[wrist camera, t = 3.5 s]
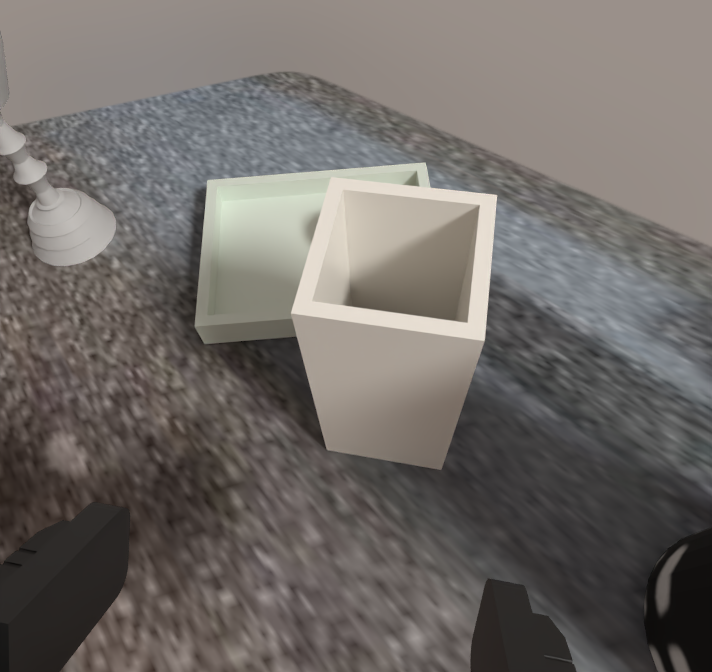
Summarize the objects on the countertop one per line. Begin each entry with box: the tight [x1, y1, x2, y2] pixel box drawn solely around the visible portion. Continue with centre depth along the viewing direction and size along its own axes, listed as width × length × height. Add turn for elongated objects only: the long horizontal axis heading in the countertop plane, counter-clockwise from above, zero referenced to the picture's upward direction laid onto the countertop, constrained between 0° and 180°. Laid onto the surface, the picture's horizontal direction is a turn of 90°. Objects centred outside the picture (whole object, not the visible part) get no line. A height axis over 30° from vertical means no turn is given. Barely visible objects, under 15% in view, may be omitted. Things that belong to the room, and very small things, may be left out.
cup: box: [291, 177, 497, 470], centre depth 22 cm, size 5×5×12 cm
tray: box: [195, 163, 430, 344], centre depth 31 cm, size 13×10×2 cm
